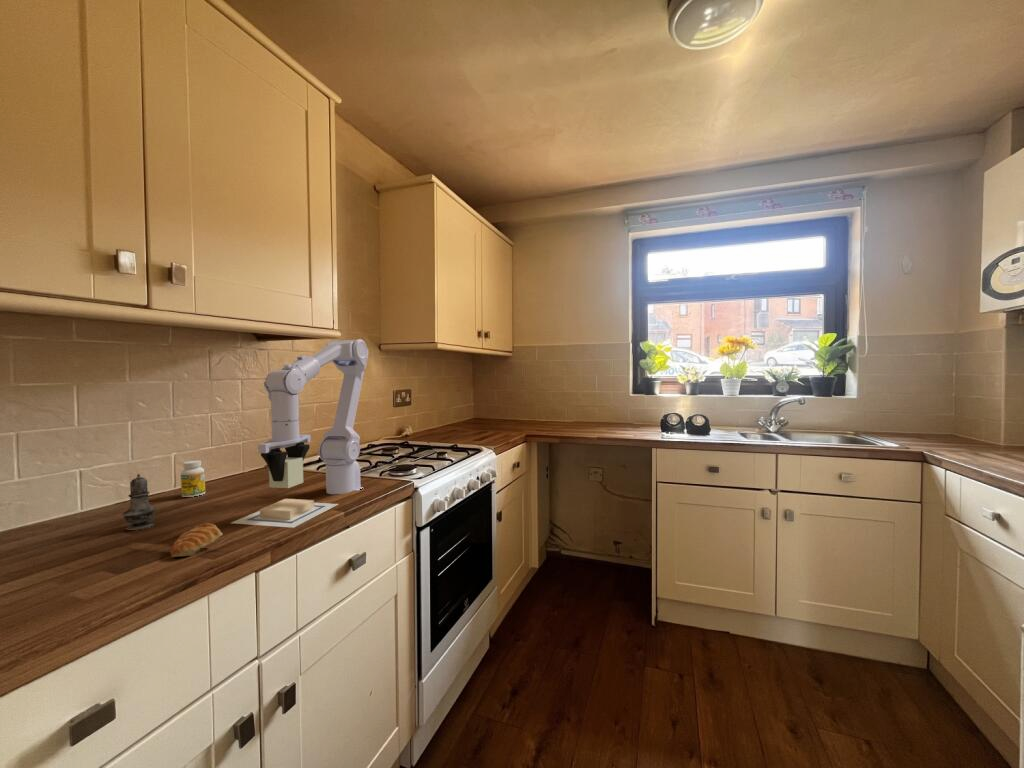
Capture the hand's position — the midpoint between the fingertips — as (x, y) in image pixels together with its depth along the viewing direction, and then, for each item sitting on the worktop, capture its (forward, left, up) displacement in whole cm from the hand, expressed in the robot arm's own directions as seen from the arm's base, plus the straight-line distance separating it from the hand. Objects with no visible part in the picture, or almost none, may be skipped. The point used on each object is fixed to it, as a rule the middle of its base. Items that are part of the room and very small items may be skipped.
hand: (287, 477), depth 98 cm
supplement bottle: (-11, -40, -10) cm, 43 cm away
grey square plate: (0, 0, -9) cm, 9 cm away
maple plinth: (0, 0, -8) cm, 8 cm away
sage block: (0, 0, -2) cm, 2 cm away
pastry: (+18, -6, -10) cm, 21 cm away
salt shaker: (+11, -29, -10) cm, 32 cm away
